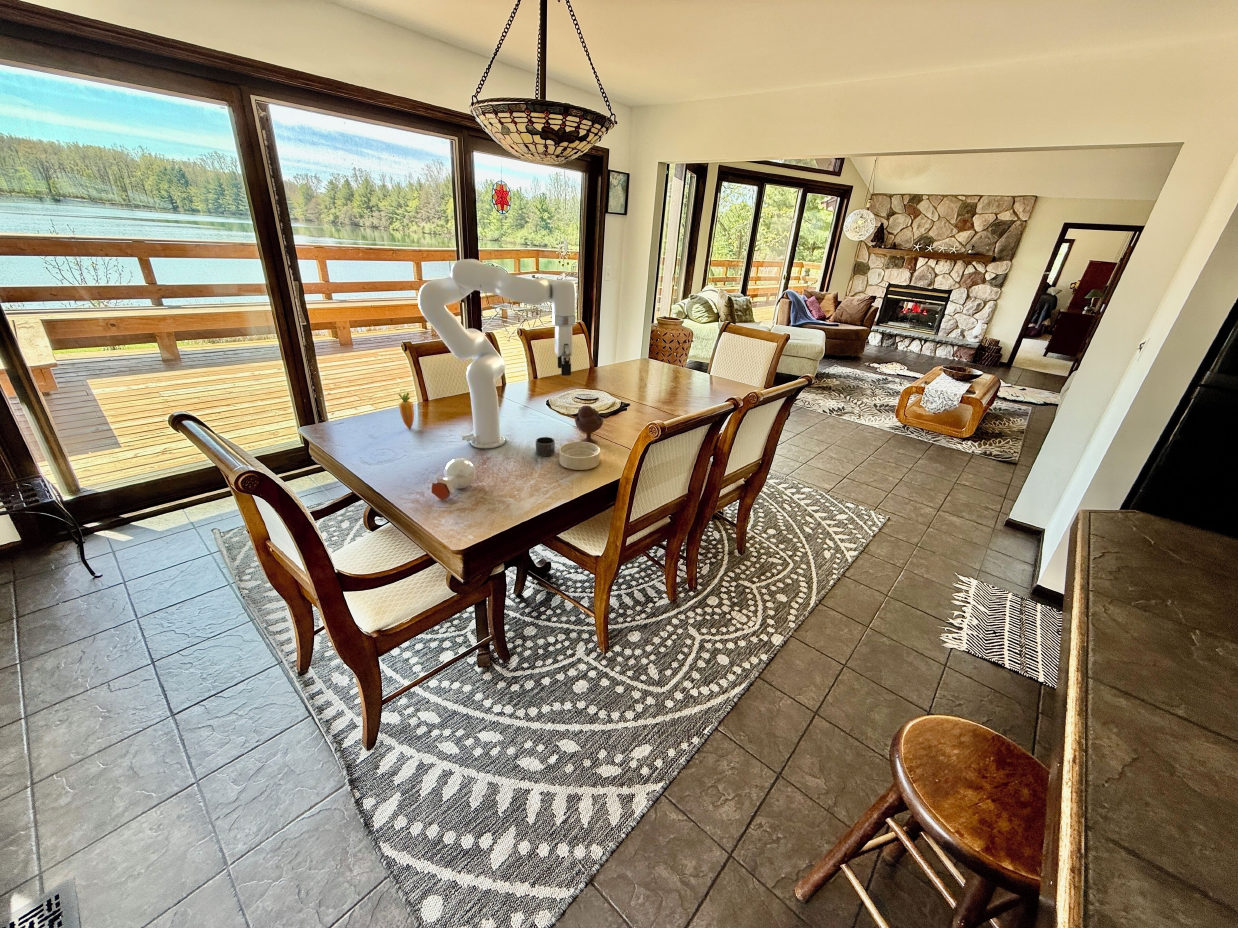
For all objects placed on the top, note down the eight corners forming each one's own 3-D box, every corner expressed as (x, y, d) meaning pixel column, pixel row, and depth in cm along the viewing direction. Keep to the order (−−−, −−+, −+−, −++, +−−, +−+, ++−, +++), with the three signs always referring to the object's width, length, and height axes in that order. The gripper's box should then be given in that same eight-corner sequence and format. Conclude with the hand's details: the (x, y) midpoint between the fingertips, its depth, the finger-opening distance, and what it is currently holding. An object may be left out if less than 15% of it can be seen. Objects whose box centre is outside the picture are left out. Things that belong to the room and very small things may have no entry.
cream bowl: (569, 474, 160) (569, 460, 158) (552, 457, 171) (552, 445, 169) (606, 466, 167) (607, 453, 165) (588, 451, 178) (588, 439, 176)
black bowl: (540, 458, 171) (539, 445, 168) (533, 451, 176) (532, 438, 174) (557, 455, 174) (557, 442, 172) (550, 448, 179) (550, 435, 177)
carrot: (400, 429, 188) (394, 393, 182) (409, 425, 192) (403, 389, 186) (409, 432, 187) (404, 395, 180) (419, 428, 191) (414, 391, 184)
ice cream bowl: (599, 449, 180) (600, 411, 174) (570, 445, 182) (570, 408, 176) (605, 438, 190) (606, 402, 183) (578, 435, 192) (578, 399, 185)
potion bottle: (475, 483, 155) (447, 510, 142) (451, 464, 154) (421, 489, 141) (487, 466, 149) (459, 492, 137) (462, 446, 148) (431, 471, 136)
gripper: (549, 316, 164) (550, 365, 172) (555, 325, 149) (556, 378, 157) (571, 316, 166) (571, 365, 174) (579, 325, 151) (579, 378, 158)
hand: (564, 371), depth 165 cm, fingers open, 9 cm apart
